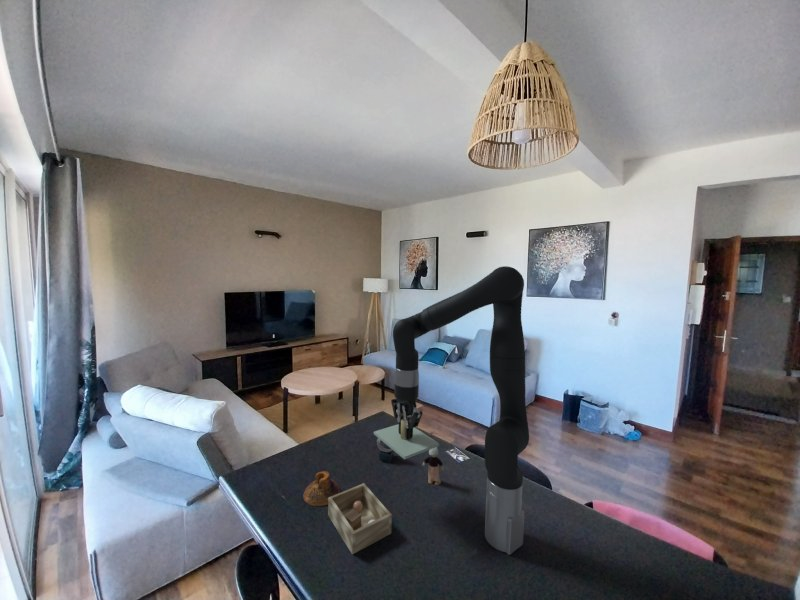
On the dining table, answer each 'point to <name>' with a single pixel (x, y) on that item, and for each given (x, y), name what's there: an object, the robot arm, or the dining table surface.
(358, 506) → the terracotta ball
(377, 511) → the box
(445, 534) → the dining table surface
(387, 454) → the watch
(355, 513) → the walnut cube
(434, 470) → the grandmother figurine
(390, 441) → the lid
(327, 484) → the brown rounded piece
